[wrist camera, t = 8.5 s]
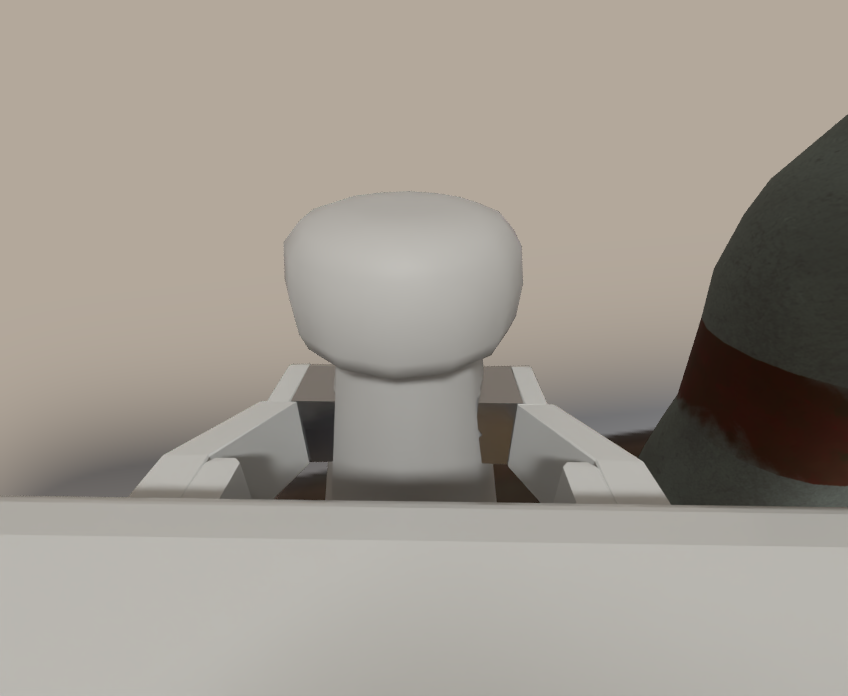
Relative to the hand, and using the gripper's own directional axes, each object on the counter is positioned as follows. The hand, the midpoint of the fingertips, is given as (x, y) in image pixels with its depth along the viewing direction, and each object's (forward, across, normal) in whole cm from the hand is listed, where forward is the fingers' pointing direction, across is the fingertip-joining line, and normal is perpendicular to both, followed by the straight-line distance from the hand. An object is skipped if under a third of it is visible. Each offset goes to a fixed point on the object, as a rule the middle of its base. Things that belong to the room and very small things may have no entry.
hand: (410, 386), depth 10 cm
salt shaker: (0, 0, +8) cm, 9 cm away
